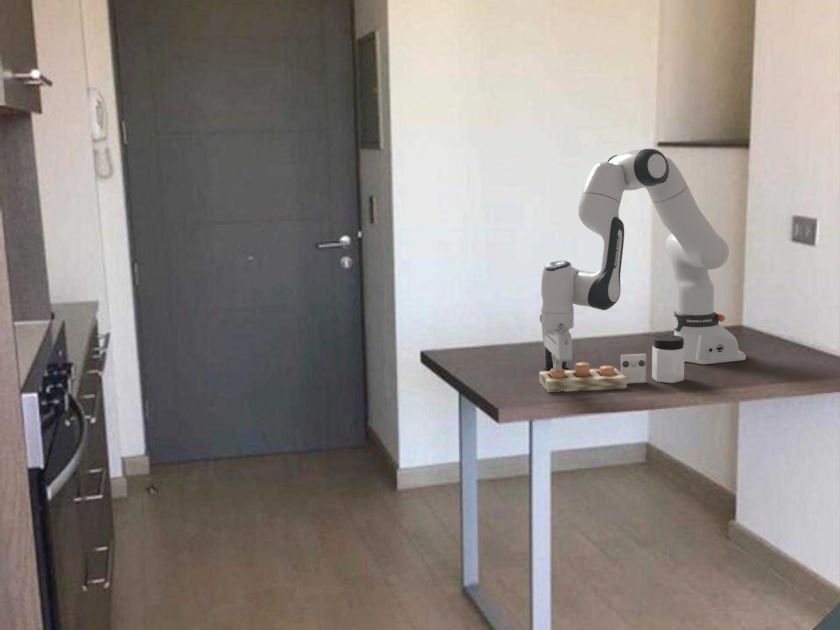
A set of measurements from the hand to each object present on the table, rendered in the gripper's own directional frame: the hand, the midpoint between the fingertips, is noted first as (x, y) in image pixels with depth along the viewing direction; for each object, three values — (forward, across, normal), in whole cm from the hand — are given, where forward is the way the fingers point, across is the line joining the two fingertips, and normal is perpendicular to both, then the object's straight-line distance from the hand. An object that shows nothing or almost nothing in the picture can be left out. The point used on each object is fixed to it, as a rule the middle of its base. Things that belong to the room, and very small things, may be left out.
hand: (557, 369), depth 274 cm
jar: (+5, +2, -32) cm, 32 cm away
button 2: (+3, 0, -14) cm, 14 cm away
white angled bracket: (+5, 0, -22) cm, 22 cm away
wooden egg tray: (+5, 0, -7) cm, 8 cm away
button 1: (+3, 0, 0) cm, 3 cm away
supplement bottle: (+5, +20, -4) cm, 21 cm away
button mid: (+2, 0, -7) cm, 7 cm away
